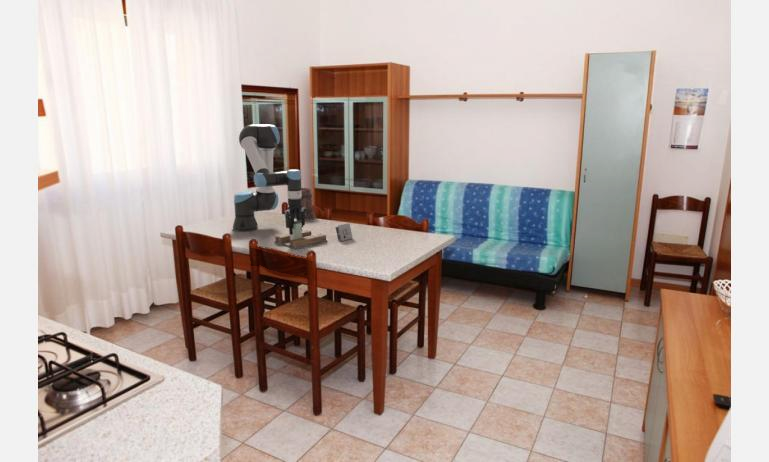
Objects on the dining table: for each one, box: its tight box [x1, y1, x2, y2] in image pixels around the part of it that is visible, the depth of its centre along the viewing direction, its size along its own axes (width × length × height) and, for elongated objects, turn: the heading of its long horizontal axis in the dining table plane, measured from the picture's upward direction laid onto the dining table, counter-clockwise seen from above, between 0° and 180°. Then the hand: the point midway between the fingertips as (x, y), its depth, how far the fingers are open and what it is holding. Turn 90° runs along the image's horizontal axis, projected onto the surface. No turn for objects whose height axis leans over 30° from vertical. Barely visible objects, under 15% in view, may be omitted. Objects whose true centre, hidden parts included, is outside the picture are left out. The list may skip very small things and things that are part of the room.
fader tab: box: [290, 219, 303, 240], centre depth 276 cm, size 6×4×12 cm
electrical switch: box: [335, 222, 353, 242], centre depth 288 cm, size 9×5×9 cm, turn 141°
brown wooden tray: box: [274, 229, 328, 250], centre depth 280 cm, size 20×22×4 cm
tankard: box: [289, 187, 316, 220], centre depth 343 cm, size 24×17×20 cm
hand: (295, 238), depth 277 cm, fingers closed on fader tab, 4 cm apart
